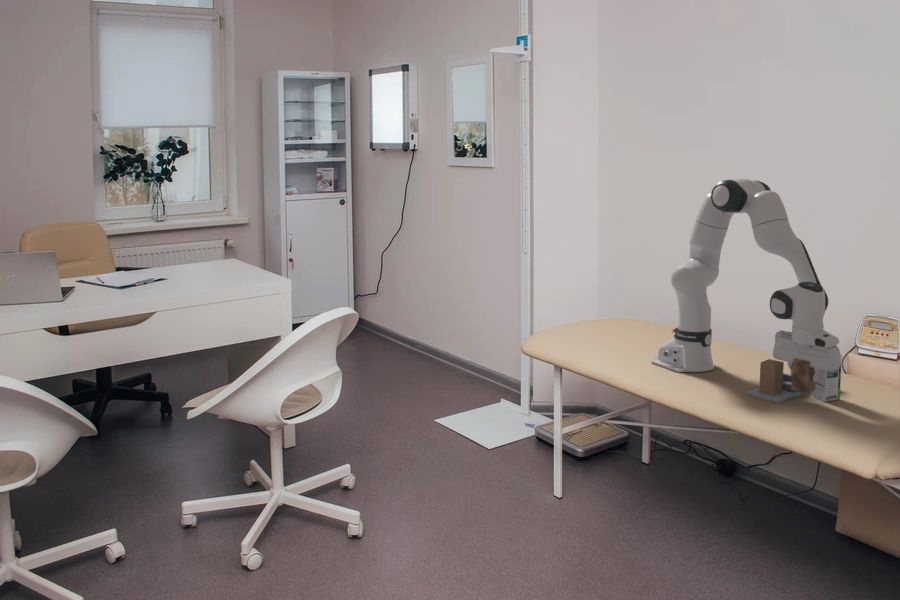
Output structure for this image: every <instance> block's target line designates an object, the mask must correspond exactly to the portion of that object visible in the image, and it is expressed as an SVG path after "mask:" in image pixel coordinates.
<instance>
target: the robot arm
mask: <svg viewBox="0 0 900 600" xmlns="http://www.w3.org/2000/svg"><path fill="white" fill-rule="evenodd" d="M745 213H746V214H747V215H748V216H749V219H750V223H751V224H750V225H751V230H752V233H753V238H754V241H755V242H756V244H757V246H758V247H759V248H760V249H762V250H763V251H764V252H767V253H770V254H773V255H776V256H779V257H781V258H783V259H785V260H787V261H788V262H789V263H790V265H791V266H792V268H793V271H794V274H795V275H796V279H797V281H798V283H797V284H796V285H794V286H792V287H787V288H781V289H778V290H776V291H774V292H773V293H772V295H771V296H770V299H769V309H770V312H771V313H772V315H773V316H774V317H775V318H777V319H780V320H791V321H792V324H791V325H792V326H791V331H786V330H779V331H777V332H775V336H774V341H775V342H774V346H773V349H772V356H773V358H774V360H777V361H782V362H787V366H788V368H789V370H790V374H791V376H792V372H793V359H799V360H804V361H808V362H810V367H812V368H814V371H816V373H815V374H813V375H811V376H810V378H811V379H810V381H813V382H816V381H817V380H818V375H819V374H820V373H821V372H822V370H825V371H830V372H833V371H836V370H837V369H839V367H840V355H841V351H840V348H839V347H838V346H837V345H839V344H840V339H839V337H837V336H835V335H833V334H831V333H829V332H828V331H826V330H825V328H824V327H825V326H824V317H825V315H826V314H825V312H826V310H827V309H828V306H829V297H828V294H827V292H826V289H824V287H823V285H822V283H821V282H820V279H819V277H818V275H817V271H816V269H815V267H814V264H813V262H812V260H811V257H810V254H809V253H808V250H807V248H806V246H805V244H804V243H803V241H802V240H801V239H800V238H799V237H798V236H797V235H796V234H795V233H794V231H793V228H792V227H791V225H790V220H789V217H788V214H787V211H786V207H785V204H784V202H783V200H782V199H781V196H780V195H779V193H777V192H776V191H772V189H771V188H770V186H769V185H768V184H766V183H765V182H763V181H759V180H752V179H748V178H747V179H746V178H744V179H743V178H741V179H725V180H721V181H719V182H717V183H716V184H715V185H714V186H713V187H712V189H711V191H710V192H708V194H706V195H705V198H704V199H703V201H702V203H701V205H700V207H699V210H698V212H697V215H696V218H695V221H694V223H693V227H692V231H691V234H690V237H689V245H690V246H689V255H688V259H687V261H686V262H684V263H682V264H680V265H678V266H677V268H675V269H674V271H673V272H672V274H671V278H670V282H671V285H672V287H673V289H674V290H675V295H676V300H677V306H678V325H677V327H676V328H673V329H672V330H671V331H672V332H671V333H672V334H674V335H673V337H671V338H670V339H669V340H667V341H666V342H664V343H663V344H661V345H660V347H659V348H658V352H657V356H655V357H653V358H651V361H650V362H651V364H654V365H656V366H659V367H662V368H664V369H669V370H670V371H674V372H677V373H687V372H689V373H703V372H708V371H709V372H710V371H712V370H713V369H715V364H714V361H713V354H712V337H713V333H712V328H711V325H712V321H711V320H712V317H711V316H712V308H711V305H710V304H709V303H710V302H709V300H708V295H707V289H708V287H710V286H711V285H713V284H714V283H715V282H716V280H717V278H718V276H719V274H720V260H721V254H722V248H723V245H724V243H725V238H726V235H727V232H728V230H729V226H730V223H731V220H732V218H733V215H735V214H745Z"/></svg>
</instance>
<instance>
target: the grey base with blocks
mask: <svg viewBox="0 0 900 600" xmlns="http://www.w3.org/2000/svg"><path fill="white" fill-rule="evenodd" d="M784 363H785V361H781V360H777V359H770V358H768V359H766V360H764V361H761V362H760V365H759V366H760V367H759V368H760V369H759V370H760V371H759V386H758V387H755V388H752V389H750V390H749V391H748V392H747V395H748V396H750V395H751V397H754V396H755V397H756V398H758V397H760V398H759V399H762V398H764V399H763V400H766V399H768V401H770V400H772V401H771V402H774V401H776V402H775V403H778V402H780V403H779V404H781V403H784V402H785V401H788V400H789V399H792V398H794V397H796V395H797V396H799V395H801V394H803V393H802V392H798V391H794V390H791V386H792V376H791V373H789V374H788V373H784V366H785V365H784ZM798 394H799V395H798ZM787 399H788V400H787Z"/></svg>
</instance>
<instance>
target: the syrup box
mask: <svg viewBox="0 0 900 600" xmlns="http://www.w3.org/2000/svg"><path fill="white" fill-rule="evenodd" d="M842 358H843V356H842V355H841V354H840V367H839V369H837V370H836V371H833V372H830V371H825V370H822V372H821V373H820V374H819V375H818V380H817V381H816V383H815V390H814V391H812V397H813V398H815V399H817V400H819V399H820V400H819V401H821V400H822V402H824V403H826V402H831V401H838V400H840V399H841V380H842V379H841V378H842V376H841V375H842Z"/></svg>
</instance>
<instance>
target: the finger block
mask: <svg viewBox="0 0 900 600" xmlns="http://www.w3.org/2000/svg"><path fill="white" fill-rule="evenodd" d="M815 373H816V371H814V368H812V367H810V362H808V361H804V360H799V359H793V372H792V386H791V390H794V391H798V392H802V393H801V394H806V395H807V394H809V393H811V392H812V393H813V391H814V390H815V383H816V382H813V381H810V379H811V378H810V376H811V375H813V374H815Z"/></svg>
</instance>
